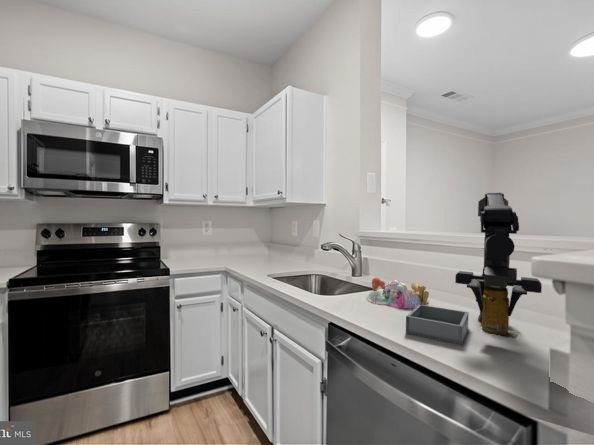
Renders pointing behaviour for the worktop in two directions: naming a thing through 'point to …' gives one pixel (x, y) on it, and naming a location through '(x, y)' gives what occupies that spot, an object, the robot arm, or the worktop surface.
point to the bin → (438, 323)
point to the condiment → (496, 312)
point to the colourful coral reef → (398, 294)
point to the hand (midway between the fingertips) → (495, 313)
